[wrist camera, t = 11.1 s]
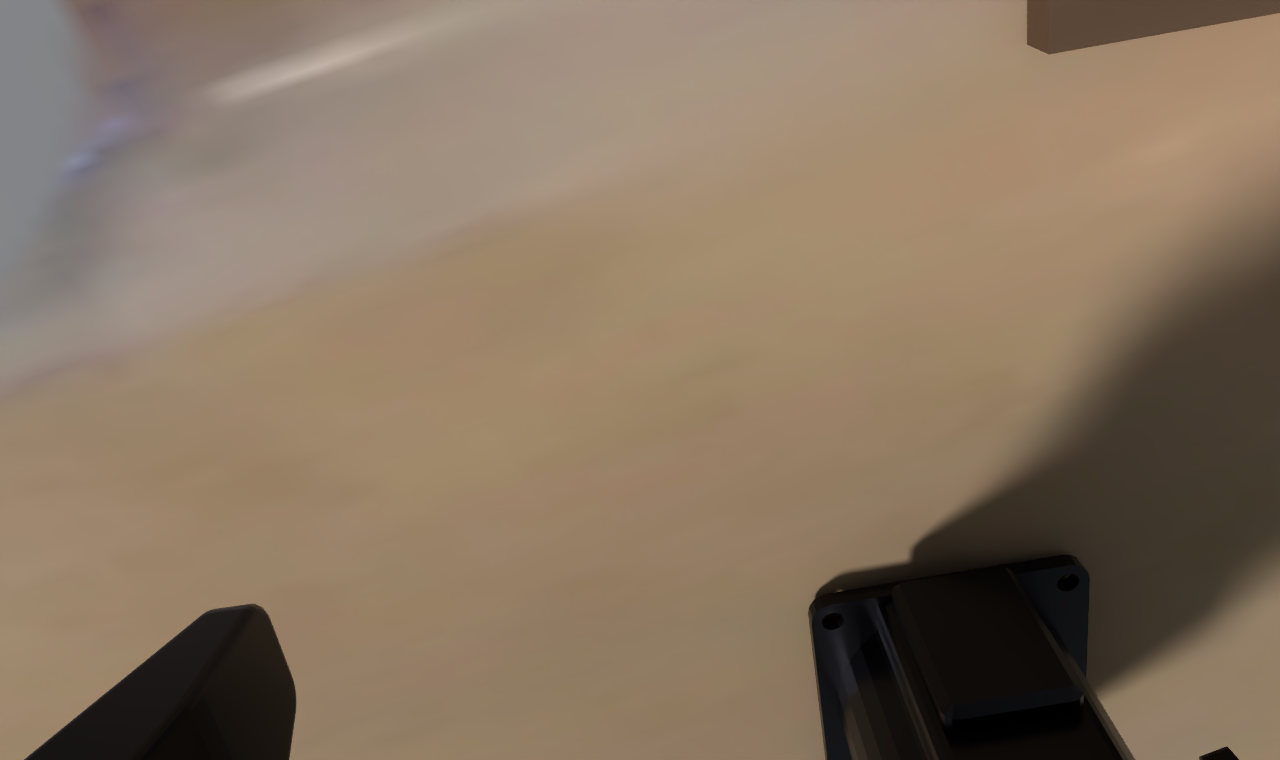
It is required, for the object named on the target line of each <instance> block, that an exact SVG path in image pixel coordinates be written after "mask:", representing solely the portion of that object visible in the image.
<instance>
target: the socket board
mask: <svg viewBox="0 0 1280 760" xmlns="http://www.w3.org/2000/svg"><path fill="white" fill-rule="evenodd" d="M1276 13H1280V0H1027V45H1029V46H1032V47H1034V48H1036V49H1038V50H1040V51H1043V52H1045V53H1047V54H1053V53H1059V52H1064V51H1070V50H1075V49H1081V48H1087V47H1092V46H1098V45H1103V44H1109V43H1114V42H1120V41H1126V40H1131V39H1137V38H1142V37H1148V36H1153V35H1159V34H1164V33H1170V32H1176V31H1181V30H1187V29H1192V28H1198V27H1203V26H1209V25H1215V24H1220V23H1226V22H1231V21H1237V20H1242V19H1248V18H1253V17H1259V16H1265V15H1270V14H1276Z"/></svg>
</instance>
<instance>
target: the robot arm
mask: <svg viewBox="0 0 1280 760" xmlns="http://www.w3.org/2000/svg"><path fill="white" fill-rule="evenodd" d="M1066 574H1071V575H1070V576H1069V577H1068V578H1067V579H1064V580H1062V581H1058V580H1059V579H1060V578H1061V577H1062V576H1064V575H1066ZM1089 582H1090V579H1089V574H1088V572H1087V570H1086V569H1085V568H1084V566H1083V565H1082V563H1081V562H1080V561H1079V560H1078V559H1077V558H1076V557H1074V556H1071V555H1059V556H1052V557H1046V558H1040V559H1034V560H1028V561H1022V562H1016V563H1010V564H1004V565H998V566H992V567H986V568H980V569H974V570H968V571H962V572H956V573H950V574H944V575H938V576H932V577H926V578H920V579H914V580H908V581H902V582H896V583H890V584H883V585H877V586H871V587H865V588H859V589H853V590H847V591H841V592H835V593H829V594H825V595H822V596H819V597H818V598H817V599H815V600H814V601H813V602H812V604H811V605H810V607H809V612H808V616H809V624H810V633H811V641H812V649H813V658H814V666H815V675H816V683H817V691H818V700H819V708H820V717H821V725H822V733H823V742H824V750H825V759H826V760H1135V758H1134V757H1133V755H1132V753H1131V752H1130V750H1129V748H1128V747H1127V745H1126V744H1125V742H1124V740H1123V739H1122V737H1121V735H1120V734H1119V732H1118V730H1117V729H1116V727H1115V725H1114V724H1113V722H1112V720H1111V719H1110V717H1109V716H1108V714H1107V712H1106V711H1105V709H1104V707H1103V706H1102V704H1101V702H1100V701H1099V699H1098V697H1097V696H1096V694H1095V692H1094V691H1093V689H1092V688H1091V686H1090V684H1089V683H1088V681H1087V679H1086V663H1087V636H1088V609H1089ZM830 613H838V615H837V616H836V617H834V618H831V619H824V617H825V616H826V615H828V614H830ZM295 714H296V691H295V685H294V681H293V678H292V675H291V672H290V670H289V667H288V664H287V662H286V659H285V657H284V654H283V651H282V649H281V646H280V644H279V641H278V638H277V636H276V633H275V630H274V628H273V625H272V623H271V620H270V618H269V616H268V614H267V613H266V611H265V610H264V609H263V608H262V607H260V606H258V605H256V604H246V605H240V606H233V607H226V608H219V609H213V610H210V611H207V612H206V613H204V614H203V615H201V616H200V617H199V618H198V619H196V620H195V621H194V622H193V623H192V624H190V625H189V626H188V627H187V628H185V629H184V630H183V631H182V632H180V633H179V634H178V635H177V636H176V637H174V638H173V639H172V640H171V641H169V642H168V643H167V644H166V645H164V646H163V647H162V648H161V649H160V650H158V651H157V652H156V653H155V654H153V655H152V656H151V657H150V658H148V659H147V660H146V661H145V662H144V663H142V664H141V665H140V666H139V667H137V668H136V669H135V670H134V671H132V672H131V673H130V674H129V675H128V676H126V677H125V678H124V679H123V680H121V681H120V682H119V683H118V684H116V685H115V686H114V687H113V688H112V689H110V690H109V691H108V692H107V693H105V694H104V695H103V696H102V697H101V698H99V699H98V700H97V701H96V702H94V703H93V704H92V705H91V706H89V707H88V708H87V709H86V710H85V711H83V712H82V713H81V714H80V715H78V716H77V717H76V718H75V719H73V720H72V721H71V722H70V723H69V724H67V725H66V726H65V727H64V728H62V729H61V730H60V731H59V732H57V733H56V734H55V735H54V736H53V737H51V738H50V739H49V740H48V741H46V742H45V743H44V744H43V745H41V746H40V747H39V748H38V749H37V750H35V751H34V752H33V753H32V754H30V755H29V756H28V757H27V758H25V759H24V760H289V757H290V750H291V743H292V735H293V728H294V721H295ZM1199 759H1200V760H1239V759H1238V758H1237V757H1236V756H1235V755H1234V753H1233V752H1232V751H1231V750H1230V749H1229V748H1228V747H1224V748H1221V749H1219V750H1216V751H1213V752H1211V753H1208V754H1205V755H1203V756H1200V757H1199Z"/></svg>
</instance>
